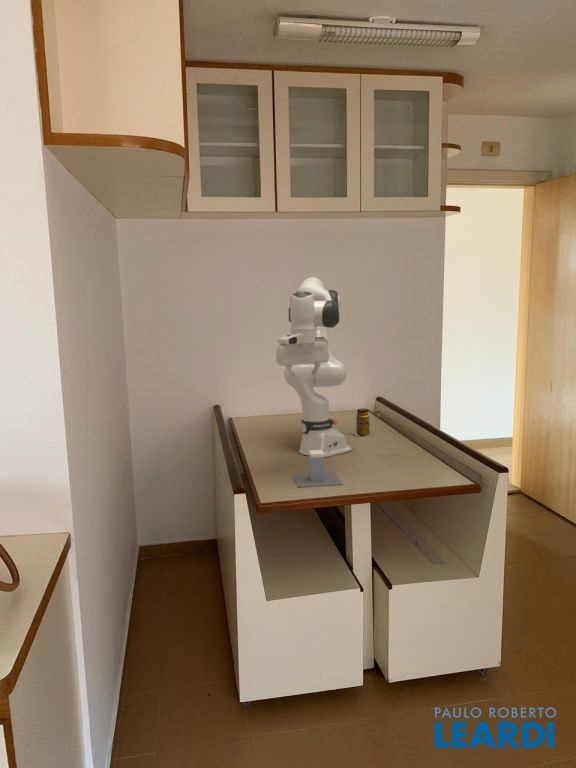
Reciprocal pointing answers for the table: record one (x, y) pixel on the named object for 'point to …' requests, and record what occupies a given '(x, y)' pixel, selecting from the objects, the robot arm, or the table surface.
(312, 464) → the box
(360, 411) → the condiment
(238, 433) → the table surface
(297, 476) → the mat
